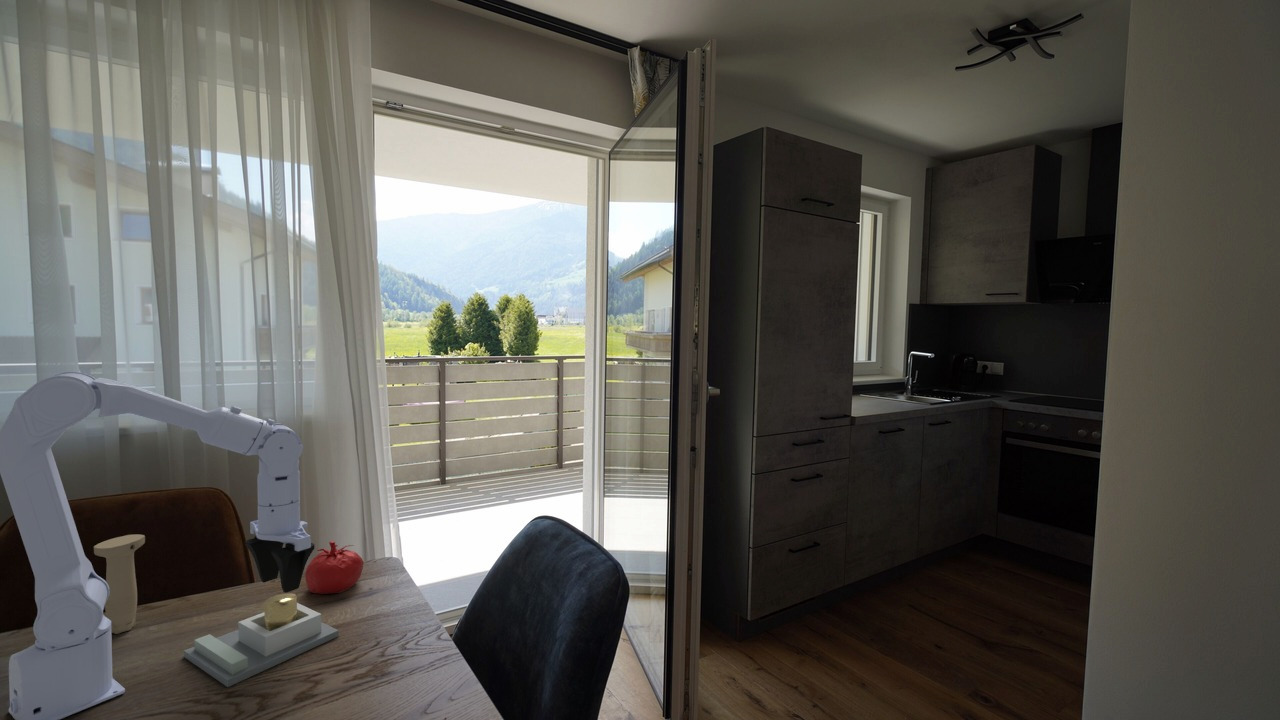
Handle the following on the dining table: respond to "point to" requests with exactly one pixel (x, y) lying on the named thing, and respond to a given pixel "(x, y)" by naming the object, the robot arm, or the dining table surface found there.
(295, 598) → the brass cylinder
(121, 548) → the handle
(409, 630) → the dining table surface
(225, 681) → the jig
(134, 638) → the dining table surface
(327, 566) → the red tomato
